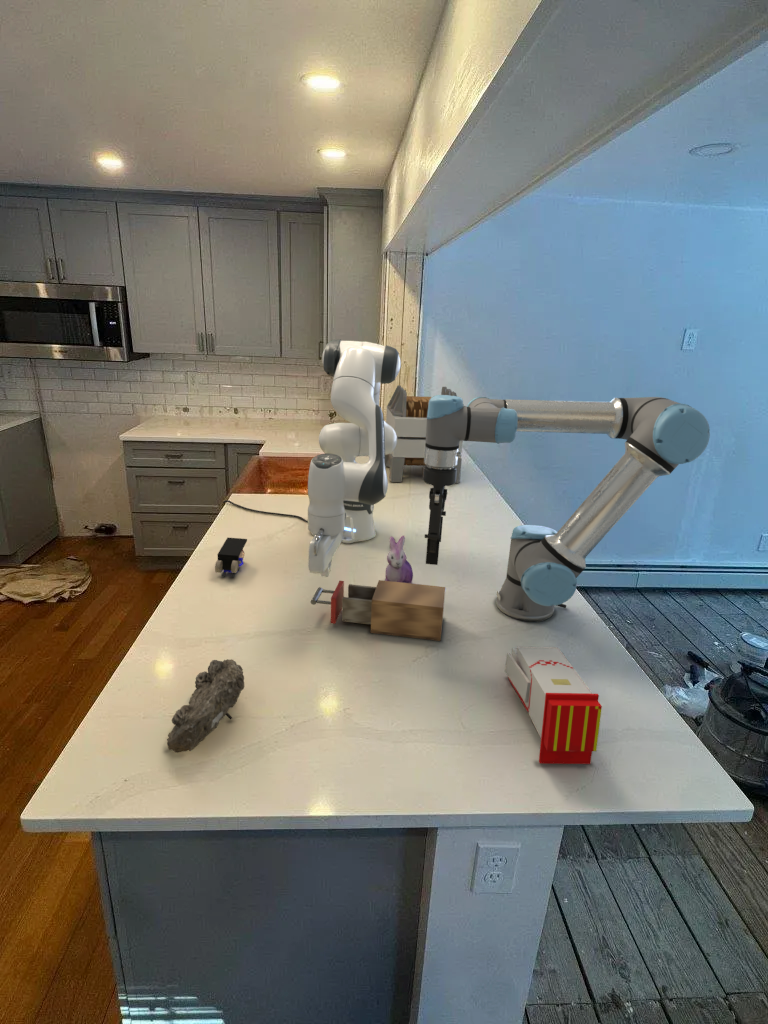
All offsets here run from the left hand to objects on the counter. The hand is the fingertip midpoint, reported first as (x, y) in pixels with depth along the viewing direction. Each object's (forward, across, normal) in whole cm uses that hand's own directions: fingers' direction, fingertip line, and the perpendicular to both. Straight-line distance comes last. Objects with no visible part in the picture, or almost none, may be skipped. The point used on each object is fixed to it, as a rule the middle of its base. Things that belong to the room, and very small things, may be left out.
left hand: (325, 574), depth 141 cm
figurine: (+12, +21, -16) cm, 29 cm away
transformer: (+12, +141, -12) cm, 142 cm away
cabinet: (+12, 0, -21) cm, 24 cm away
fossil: (+12, -41, +12) cm, 44 cm away
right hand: (-9, 0, -26) cm, 28 cm away
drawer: (+11, 0, -8) cm, 13 cm away
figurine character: (+12, +20, +33) cm, 40 cm away
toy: (+12, -27, -51) cm, 59 cm away
